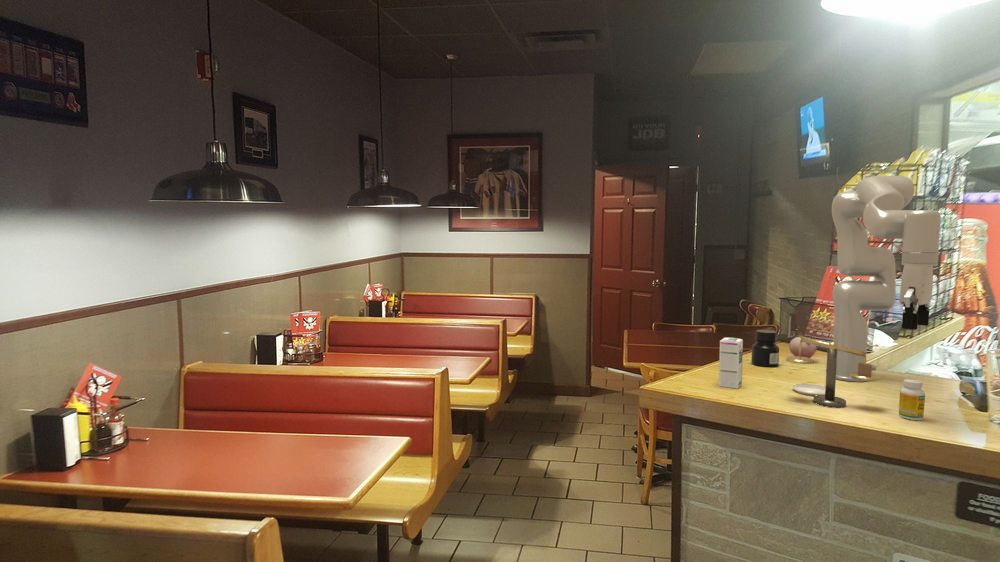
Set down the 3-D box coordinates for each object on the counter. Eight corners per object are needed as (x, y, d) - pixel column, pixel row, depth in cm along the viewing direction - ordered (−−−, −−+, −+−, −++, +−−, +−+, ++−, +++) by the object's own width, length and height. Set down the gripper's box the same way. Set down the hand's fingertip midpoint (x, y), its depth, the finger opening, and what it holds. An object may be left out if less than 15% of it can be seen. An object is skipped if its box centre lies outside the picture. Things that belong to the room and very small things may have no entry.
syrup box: (738, 389, 185) (740, 341, 183) (717, 386, 188) (719, 339, 186) (742, 385, 189) (743, 338, 188) (722, 382, 192) (723, 336, 191)
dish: (813, 385, 189) (813, 382, 189) (842, 395, 178) (843, 392, 178) (783, 388, 185) (784, 385, 185) (812, 398, 175) (812, 394, 175)
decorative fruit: (783, 358, 228) (784, 332, 227) (804, 358, 229) (805, 331, 228) (798, 364, 219) (799, 336, 218) (819, 363, 220) (821, 336, 219)
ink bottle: (778, 368, 211) (779, 334, 210) (750, 366, 215) (751, 332, 214) (778, 363, 220) (780, 330, 219) (752, 360, 224) (753, 328, 223)
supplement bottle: (901, 413, 161) (903, 377, 161) (925, 417, 158) (928, 381, 157) (895, 417, 158) (898, 380, 157) (920, 422, 154) (923, 384, 153)
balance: (784, 394, 179) (787, 333, 177) (876, 405, 168) (880, 340, 167) (783, 401, 172) (786, 337, 170) (878, 413, 161) (883, 345, 159)
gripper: (912, 258, 163) (908, 322, 164) (891, 260, 151) (887, 328, 153) (946, 259, 157) (941, 325, 159) (927, 261, 146) (923, 332, 147)
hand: (915, 327), depth 156 cm, fingers open, 9 cm apart
